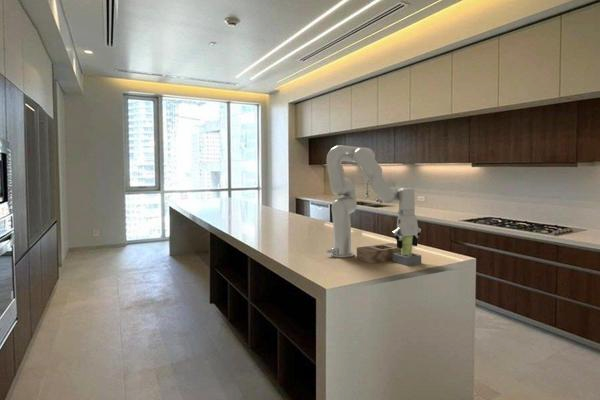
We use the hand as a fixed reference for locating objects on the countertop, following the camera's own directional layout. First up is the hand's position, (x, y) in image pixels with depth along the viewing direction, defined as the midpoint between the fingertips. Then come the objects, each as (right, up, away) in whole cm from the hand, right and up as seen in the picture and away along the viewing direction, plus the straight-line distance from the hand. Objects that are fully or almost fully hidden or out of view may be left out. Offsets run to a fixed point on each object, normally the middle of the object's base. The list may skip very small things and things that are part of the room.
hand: (407, 246), depth 188 cm
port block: (-10, -7, +10) cm, 16 cm away
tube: (0, -8, +1) cm, 8 cm away
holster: (0, -8, +1) cm, 8 cm away
